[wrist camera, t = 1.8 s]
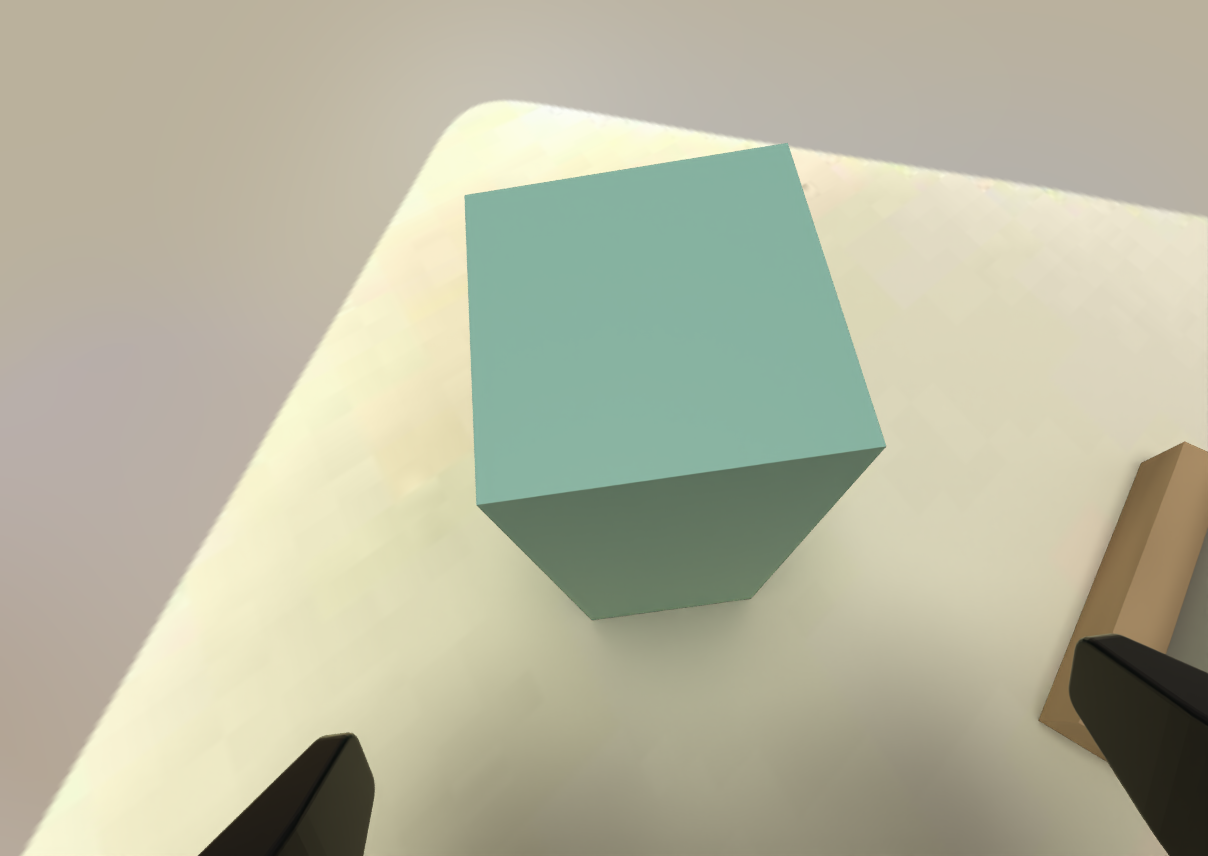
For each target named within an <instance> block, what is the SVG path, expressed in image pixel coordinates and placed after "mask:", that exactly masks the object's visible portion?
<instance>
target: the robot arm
mask: <svg viewBox="0 0 1208 856" xmlns="http://www.w3.org/2000/svg"><path fill="white" fill-rule="evenodd" d="M1068 690H1069V697H1070V700H1071V703H1072V705H1073V707H1074V709H1075V711H1076V713H1077V714H1078V716H1079V718H1080V719H1081V721H1082V722H1083V724H1084V725H1085V727H1086V729H1087V730H1088V732H1089V733H1090V735H1091V737H1092V738H1093V740H1094V741H1095V743H1096V744H1097V746H1098V748H1099V749H1100V751H1101V752H1102V754H1103V755H1104V757H1105V759H1106V760H1107V762H1108V763H1109V765H1110V767H1111V768H1112V770H1113V771H1114V773H1115V774H1116V776H1117V778H1118V779H1119V781H1120V782H1121V784H1122V786H1123V787H1124V789H1125V790H1126V792H1127V793H1128V795H1129V797H1130V798H1131V800H1132V801H1133V803H1134V804H1135V806H1136V808H1137V809H1138V811H1139V812H1140V814H1141V816H1142V817H1143V819H1144V820H1145V822H1146V823H1147V825H1148V826H1149V828H1150V829H1151V831H1152V832H1153V834H1154V835H1155V837H1156V838H1157V840H1158V841H1159V842H1160V844H1161V845H1162V846H1163V848H1164V849H1165V850H1166V852H1167V853H1168V855H1169V856H1208V673H1207V672H1205V671H1203V670H1200V669H1198V668H1196V667H1194V666H1191V665H1189V664H1187V663H1185V662H1182V661H1180V660H1178V659H1175V658H1173V657H1171V656H1169V655H1166V654H1164V653H1162V652H1159V651H1157V650H1155V649H1153V648H1150V647H1148V646H1146V645H1144V644H1141V643H1139V642H1137V641H1134V640H1132V639H1130V638H1128V637H1125V636H1123V635H1120V634H1112V633H1109V634H1102V635H1094V636H1086V637H1083V638H1080V639H1079V641H1078V642H1077V643H1076V645H1075V649H1074V655H1073V661H1072V667H1071V673H1070V679H1069V686H1068ZM374 793H375V784H374V778H373V774H372V772H371V769H370V767H369V764H368V762H367V759H366V757H365V754H364V752H363V749H362V747H361V745H360V742H359V740H358V738H357V736H355V735H354V734H353V733H349V732H348V733H340V734H333V735H325V736H322V737H320V738H319V739H317V740H316V741H315V742H314V743H313V744H312V745H311V746H310V747H309V748H308V749H306V750H305V751H304V752H303V753H302V754H301V755H300V756H299V757H298V758H297V759H296V760H295V761H294V762H293V763H292V764H291V765H290V766H289V767H288V768H287V769H286V770H285V771H284V772H283V773H282V774H281V775H280V776H279V777H278V778H277V779H276V780H275V781H274V782H273V783H272V784H271V785H270V786H269V787H268V788H267V789H266V790H265V791H263V792H262V793H261V794H260V795H259V796H258V797H257V798H256V799H255V800H254V801H253V802H252V803H251V804H250V805H249V806H248V807H247V808H246V809H245V810H244V811H243V812H242V813H241V814H240V815H239V816H238V817H237V818H236V819H235V820H234V821H233V822H232V823H231V824H230V825H229V826H228V827H227V828H226V829H225V830H224V831H223V832H222V833H220V834H219V835H218V836H217V837H216V838H215V839H214V840H213V841H212V842H211V843H210V844H209V845H208V846H207V847H206V848H205V849H204V850H203V851H202V852H201V853H200V854H199V855H198V856H363V855H364V849H365V844H366V839H367V833H368V828H369V822H370V817H371V812H372V806H373V801H374Z"/></svg>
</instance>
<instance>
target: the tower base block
mask: <svg viewBox="0 0 1208 856" xmlns="http://www.w3.org/2000/svg"><path fill="white" fill-rule="evenodd" d="M1207 529H1208V452H1207V451H1205V450H1203V449H1200V448H1198V447H1196V446H1194V445H1191V444H1189V443H1187V442H1183V443H1181V444H1179V445H1177V446H1175V447H1173V448H1171V449H1169V450H1167V451H1165V452H1163V453H1161V454H1159V455H1157V456H1155V457H1153V458H1151V459H1149V460H1147V461H1144V462H1142V463H1141V465H1140V467H1139V470H1138V472H1137V475H1136V477H1135V480H1134V482H1133V485H1132V487H1131V490H1130V492H1129V495H1128V497H1127V500H1126V502H1125V505H1124V507H1123V510H1122V512H1121V515H1120V517H1119V520H1118V522H1117V525H1116V527H1115V530H1114V532H1113V535H1112V537H1111V540H1110V542H1109V545H1108V547H1107V550H1106V552H1105V555H1104V557H1103V560H1102V562H1101V565H1100V567H1099V570H1098V573H1097V575H1096V578H1095V580H1094V583H1093V585H1092V588H1091V590H1090V593H1089V595H1088V598H1087V600H1086V603H1085V605H1084V608H1083V610H1082V613H1081V615H1080V618H1079V620H1078V623H1077V625H1076V628H1075V630H1074V633H1073V635H1072V638H1071V640H1070V643H1069V645H1068V648H1067V650H1066V653H1065V655H1064V658H1063V660H1062V663H1061V665H1060V668H1059V670H1058V673H1057V675H1056V678H1055V680H1054V683H1053V685H1052V688H1051V690H1050V693H1049V695H1048V698H1047V700H1046V703H1045V705H1044V708H1043V710H1042V713H1041V715H1040V718H1039V721H1040V722H1042V723H1044V724H1045V725H1047V726H1049V727H1050V728H1052V729H1054V730H1055V731H1057V732H1059V733H1060V734H1062V735H1064V736H1065V737H1067V738H1069V739H1070V740H1072V741H1074V742H1075V743H1077V744H1078V745H1080V746H1082V747H1083V748H1085V749H1087V750H1088V751H1090V752H1092V753H1093V754H1095V755H1097V756H1098V757H1100V758H1102V759H1103V760H1105V761H1107V760H1106V759H1105V757H1104V755H1103V754H1102V752H1101V751H1100V749H1099V748H1098V746H1097V744H1096V743H1095V741H1094V740H1093V738H1092V737H1091V735H1090V733H1089V732H1088V730H1087V729H1086V727H1085V725H1084V724H1083V722H1082V721H1081V719H1080V718H1079V716H1078V714H1077V713H1076V711H1075V709H1074V707H1073V705H1072V703H1071V700H1070V697H1069V690H1068V686H1069V679H1070V673H1071V667H1072V661H1073V655H1074V649H1075V645H1076V643H1077V642H1078V641H1079V639H1080V638H1083V637H1086V636H1094V635H1102V634H1109V633H1112V634H1120V635H1123V636H1125V637H1128V638H1130V639H1132V640H1134V641H1137V642H1139V643H1141V644H1144V645H1146V646H1148V647H1150V648H1153V649H1155V650H1157V651H1159V652H1162V653H1164V654H1166V653H1167V650H1168V647H1169V644H1170V641H1171V638H1172V635H1173V632H1174V628H1175V625H1176V622H1177V619H1178V616H1179V613H1180V610H1181V607H1182V604H1183V601H1184V598H1185V595H1186V592H1187V589H1188V586H1189V583H1190V580H1191V577H1192V574H1193V571H1194V568H1195V565H1196V562H1197V559H1198V556H1199V553H1200V550H1201V547H1202V544H1203V541H1204V538H1205V535H1206V532H1207Z"/></svg>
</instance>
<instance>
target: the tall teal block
mask: <svg viewBox="0 0 1208 856" xmlns="http://www.w3.org/2000/svg"><path fill="white" fill-rule="evenodd" d="M465 220H466V245H467V271H468V297H469V323H470V349H471V375H472V401H473V427H474V453H475V479H476V505H477V506H478V507H479V508H480V509H481V510H482V511H483V512H484V513H485V514H486V515H487V516H488V517H489V518H490V519H491V520H492V521H493V522H494V523H495V524H496V525H497V526H498V527H499V528H500V529H501V530H502V531H503V532H504V533H505V534H506V535H507V536H508V537H509V538H510V539H511V540H512V541H513V542H514V543H515V544H516V545H517V546H518V547H519V548H520V549H521V550H522V551H523V552H524V553H525V554H526V555H527V556H528V557H529V558H530V559H531V560H532V561H533V562H534V563H535V564H536V565H537V566H538V567H539V568H540V569H541V570H542V571H543V572H544V573H545V574H546V575H547V576H548V577H549V578H550V579H551V580H552V581H553V582H554V583H555V584H556V585H557V586H558V587H559V588H560V589H561V590H562V591H563V592H564V593H565V594H566V595H567V596H568V597H569V598H570V599H571V600H572V601H573V602H574V603H575V604H576V605H577V606H578V607H579V608H580V609H581V610H582V611H583V612H584V613H585V614H586V615H587V616H588V617H589V618H590V619H591V620H597V619H604V618H612V617H619V616H626V615H634V614H641V613H649V612H656V611H663V610H671V609H678V608H686V607H693V606H700V605H708V604H715V603H722V602H730V601H737V600H745V599H751V598H752V597H753V596H754V595H755V593H756V592H757V591H758V590H759V589H760V588H761V587H762V586H763V584H764V583H765V582H766V581H767V580H768V579H769V578H770V577H771V575H772V574H773V573H774V572H775V571H776V570H777V569H778V568H779V566H780V565H781V564H782V563H783V562H784V561H785V560H786V559H787V557H788V556H789V555H790V554H791V553H792V552H793V551H794V550H795V548H796V547H797V546H798V545H799V544H800V543H801V542H802V541H803V539H804V538H805V537H806V536H807V535H808V534H809V533H810V532H811V530H812V529H813V528H814V527H815V526H816V525H817V524H818V523H819V521H820V520H821V519H822V518H823V517H824V516H825V515H826V514H827V512H828V511H829V510H830V509H831V508H832V507H833V506H834V505H835V503H836V502H837V501H838V500H839V499H840V498H841V497H842V496H843V494H844V493H845V492H846V491H847V490H848V489H849V488H850V487H851V485H852V484H853V483H854V482H855V481H856V480H857V479H858V478H859V476H860V475H861V474H862V473H863V472H864V471H865V470H866V469H867V467H868V466H869V465H870V464H871V463H872V462H873V461H874V460H875V458H876V457H877V456H878V455H879V454H880V453H881V452H882V451H883V449H884V448H885V447H886V444H885V441H884V438H883V435H882V432H881V429H880V426H879V423H878V419H877V416H876V413H875V410H874V407H873V404H872V401H871V398H870V395H869V392H868V389H867V386H866V383H865V379H864V376H863V373H862V370H861V367H860V364H859V361H858V358H857V355H856V352H855V349H854V346H853V343H852V340H851V336H850V333H849V330H848V327H847V324H846V321H845V318H844V315H843V312H842V309H841V306H840V303H839V300H838V297H837V293H836V290H835V287H834V284H833V281H832V278H831V275H830V272H829V269H828V266H827V263H826V260H825V257H824V253H823V250H822V247H821V244H820V241H819V238H818V235H817V232H816V229H815V226H814V223H813V220H812V217H811V214H810V210H809V207H808V204H807V201H806V198H805V195H804V192H803V189H802V186H801V183H800V180H799V177H798V174H797V170H796V167H795V164H794V161H793V158H792V155H791V152H790V149H789V146H788V143H785V144H779V145H773V146H766V147H760V148H754V149H748V150H742V151H735V152H729V153H723V154H717V155H711V156H705V157H698V158H692V159H686V160H680V161H674V162H667V163H661V164H655V165H649V166H643V167H637V168H630V169H624V170H618V171H612V172H606V173H599V174H593V175H587V176H581V177H575V178H568V179H562V180H556V181H550V182H544V183H538V184H531V185H525V186H519V187H513V188H507V189H500V190H494V191H488V192H482V193H476V194H470V195H465Z"/></svg>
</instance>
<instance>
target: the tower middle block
mask: <svg viewBox="0 0 1208 856" xmlns="http://www.w3.org/2000/svg"><path fill="white" fill-rule="evenodd" d="M1166 655H1169V656H1171V657H1173V658H1175V659H1178V660H1180V661H1182V662H1185V663H1187V664H1189V665H1191V666H1194V667H1196V668H1198V669H1200V670H1203V671H1205V672H1207V673H1208V529H1207V532H1206V535H1205V538H1204V541H1203V544H1202V547H1201V550H1200V553H1199V556H1198V559H1197V562H1196V565H1195V568H1194V571H1193V574H1192V577H1191V580H1190V583H1189V586H1188V589H1187V592H1186V595H1185V598H1184V601H1183V604H1182V607H1181V610H1180V613H1179V616H1178V619H1177V622H1176V625H1175V628H1174V632H1173V635H1172V638H1171V641H1170V644H1169V647H1168V650H1167V653H1166Z"/></svg>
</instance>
